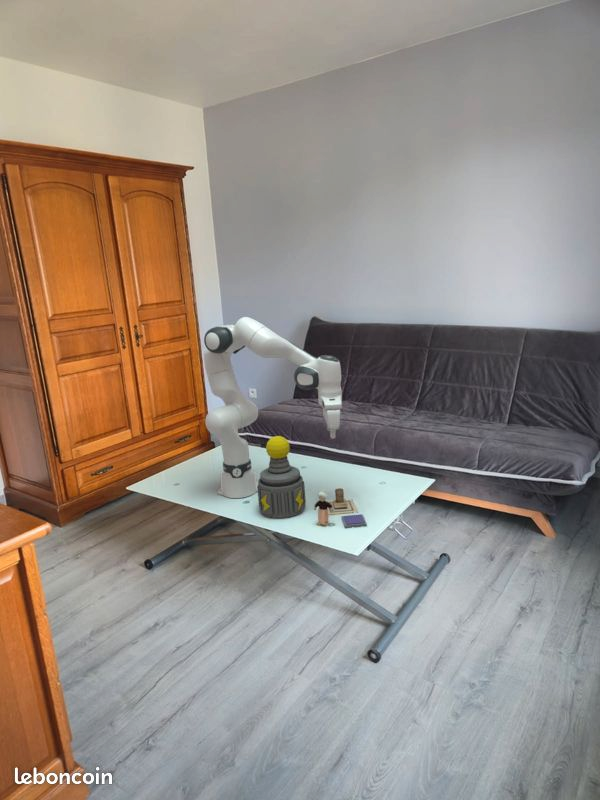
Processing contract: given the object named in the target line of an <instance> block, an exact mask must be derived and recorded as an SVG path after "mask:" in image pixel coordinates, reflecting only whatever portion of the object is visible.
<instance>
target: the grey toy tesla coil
mask: <svg viewBox="0 0 600 800" xmlns="http://www.w3.org/2000/svg"><path fill="white" fill-rule="evenodd" d="M265 448H266V449H265V450H266V453H267V456H269V463H268V467H267V468H265V469H263V470H261V472H260V474H259V477H260V478H259V479H257V481H258V486H257V490H258V492H257V500H258V507H259V510H260V513H262V515H264V516H266V517H268V518H271V519H287V518H292V517H296V516H297V514H298V515H299V514H300V513H302V512H303V511H304V509H305V507H306V490H305V481H304V479H303V476H302V475H301V472H300V471H301V470H300V469H299V468H298V467H296V466H294V465H293V466H292V465H291V464H290V462H289V458H288V455H289V453H290V449H291V448H290V443H289V441H288V440H287V439H286V438H285V437H284V436H281V435H276V436H275V435H274V436H273V437H271V438H269V440H268V441H267V443H266V444H265Z"/></svg>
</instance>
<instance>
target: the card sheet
mask: <svg viewBox="0 0 600 800" xmlns="http://www.w3.org/2000/svg"><path fill="white" fill-rule="evenodd" d="M327 502H329V503H330V504H331V505H332V507H333V509H334V506H333V500H328V501H327ZM346 502H347V509H339V510H335V509H334V511H333V512H332V511H331V509H330V508H328V507H327V509H328V516H334V515H345V514H355V513H354V512H357V513H359V511H358V508H357V505H356V504H355V501H354V499H353V498H352V499H351V498H350V499H346Z"/></svg>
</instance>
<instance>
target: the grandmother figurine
mask: <svg viewBox="0 0 600 800" xmlns="http://www.w3.org/2000/svg"><path fill="white" fill-rule="evenodd" d="M327 499H328V494H327V493H326V492H324V491H320V492H318V501H316V503H314V507H313V511H316V510H317V511H318V514H317V515H318V517H317V522H316V525H317V526H322V525H323V526H324V527H328V526H329V525H330V523H329V515H328V509H327V507H328V508H330V509H331V511H332V512H333V511H334V509H333V507H332V505H331V504H330V503H329V502H327V501H326V500H327ZM317 508H318V509H317Z"/></svg>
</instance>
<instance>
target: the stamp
mask: <svg viewBox="0 0 600 800" xmlns="http://www.w3.org/2000/svg"><path fill="white" fill-rule="evenodd" d="M334 491H335V498H333V499H332V501H333V506H334V509H335V510H339V509H347V502H346V500H347V499H346V498H345V496H344V495H345V494H344V489H343V488H339V487H337V488H335V490H334Z"/></svg>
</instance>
